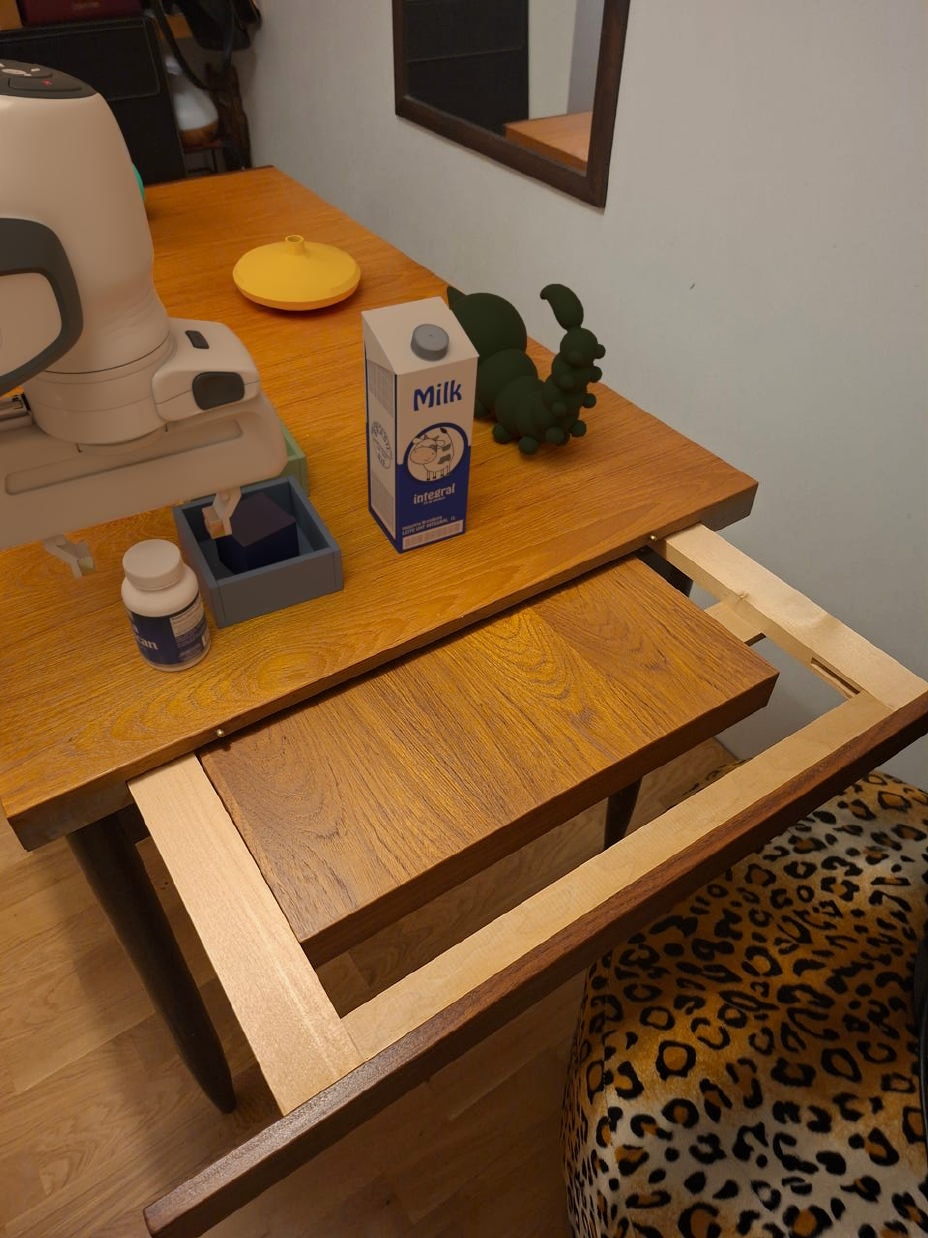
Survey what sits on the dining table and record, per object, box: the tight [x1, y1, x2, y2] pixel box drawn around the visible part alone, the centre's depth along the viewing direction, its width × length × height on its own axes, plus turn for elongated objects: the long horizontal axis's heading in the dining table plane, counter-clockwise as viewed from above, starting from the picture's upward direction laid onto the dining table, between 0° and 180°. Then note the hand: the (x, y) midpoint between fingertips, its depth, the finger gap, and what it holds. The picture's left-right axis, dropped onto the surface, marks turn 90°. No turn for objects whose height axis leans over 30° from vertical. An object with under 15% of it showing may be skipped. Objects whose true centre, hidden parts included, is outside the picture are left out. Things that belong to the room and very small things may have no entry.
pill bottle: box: [120, 538, 212, 673], centre depth 65 cm, size 5×5×10 cm
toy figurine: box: [446, 283, 607, 457], centre depth 87 cm, size 9×19×25 cm
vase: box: [231, 234, 362, 312], centre depth 107 cm, size 16×16×7 cm
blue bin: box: [170, 475, 344, 629], centre depth 74 cm, size 11×11×5 cm
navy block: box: [215, 492, 300, 575], centre depth 73 cm, size 5×5×5 cm
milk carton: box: [360, 295, 479, 554], centre depth 73 cm, size 7×7×20 cm
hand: (153, 550), depth 61 cm, fingers open, 8 cm apart
